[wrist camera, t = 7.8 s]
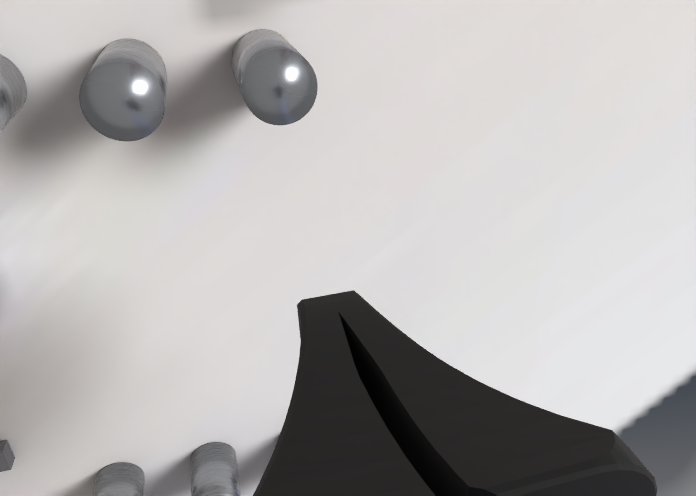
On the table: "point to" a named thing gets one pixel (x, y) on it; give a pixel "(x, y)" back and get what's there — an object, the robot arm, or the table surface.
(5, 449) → the frame
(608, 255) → the table surface
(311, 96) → the metal pins
